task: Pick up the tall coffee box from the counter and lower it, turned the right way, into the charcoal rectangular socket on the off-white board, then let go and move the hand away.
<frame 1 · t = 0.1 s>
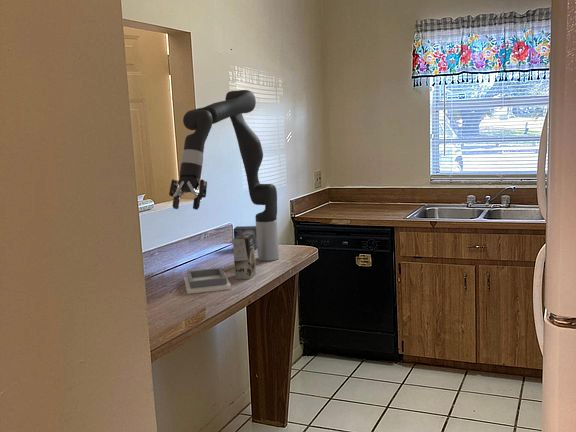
hand: (185, 208, 211), 31 cm above the counter, tool tilted 20°, fingers open, 8 cm apart
small box: (246, 249, 289), on the counter
socket stand: (207, 284, 229), on the counter
coffee box: (245, 276, 238), on the counter
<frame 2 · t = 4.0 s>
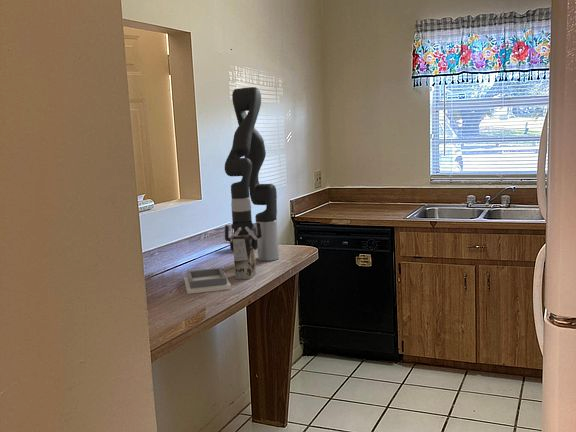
hand: (244, 249, 236), 11 cm above the counter, tool pointing down, fingers open, 8 cm apart
coffee box: (245, 276, 238), on the counter, touching gripper
everything else where it was.
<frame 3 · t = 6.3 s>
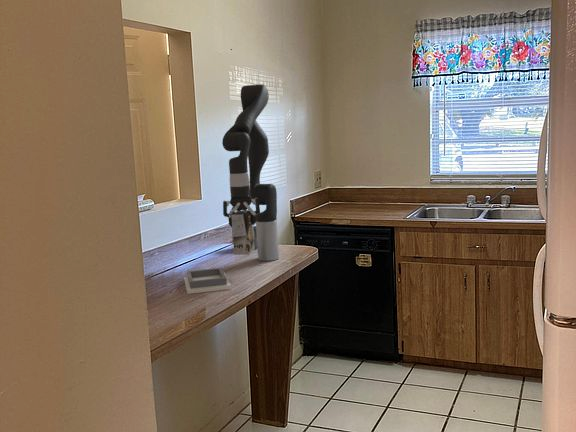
hand: (242, 225, 235), 20 cm above the counter, tool pointing down, fingers closed on coffee box, 8 cm apart
coffee box: (244, 252, 237), point 9 cm above the counter, touching gripper
everything else where it was.
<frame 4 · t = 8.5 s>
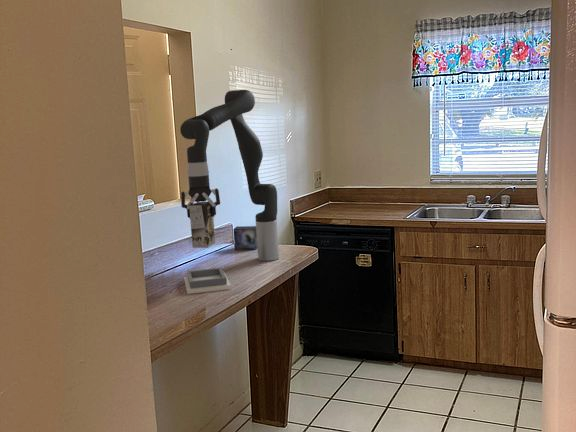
hand: (201, 217, 224), 26 cm above the counter, tool pointing down, fingers closed on coffee box, 8 cm apart
coffee box: (204, 245, 226), point 15 cm above the counter, touching gripper
everything else where it was.
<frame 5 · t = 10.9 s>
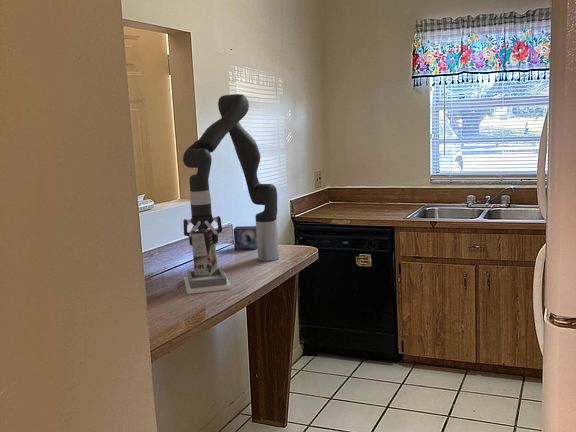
hand: (204, 245, 226), 15 cm above the counter, tool pointing down, fingers closed on coffee box, 8 cm apart
coffee box: (206, 273, 228), point 5 cm above the counter, touching gripper
everything else where it was.
when the fingers open (13 cm above the counter, at t = 12.7 s): coffee box drops 1 cm, resting on socket stand.
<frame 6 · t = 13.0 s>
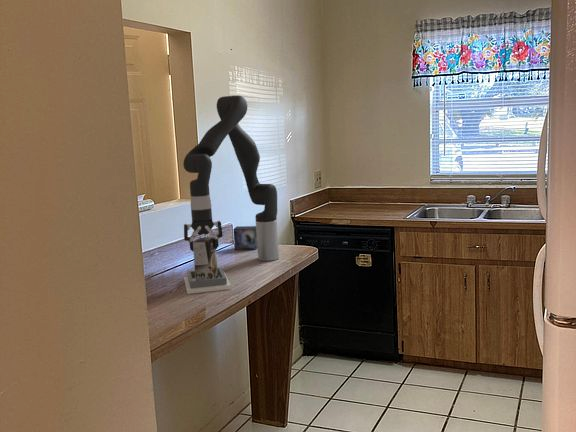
hand: (204, 249, 226), 14 cm above the counter, tool pointing down, fingers open, 8 cm apart
coffee box: (207, 281, 228), point 1 cm above the counter, touching gripper, socket stand
everything else where it was.
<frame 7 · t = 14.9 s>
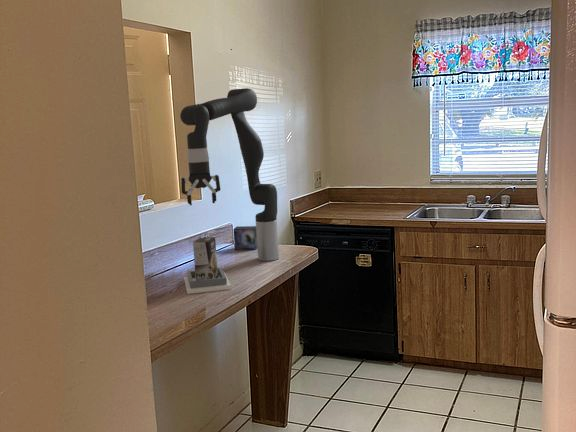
hand: (202, 204, 224), 31 cm above the counter, tool pointing down, fingers open, 8 cm apart
coffee box: (207, 281, 228), point 1 cm above the counter, touching socket stand
everything else where it was.
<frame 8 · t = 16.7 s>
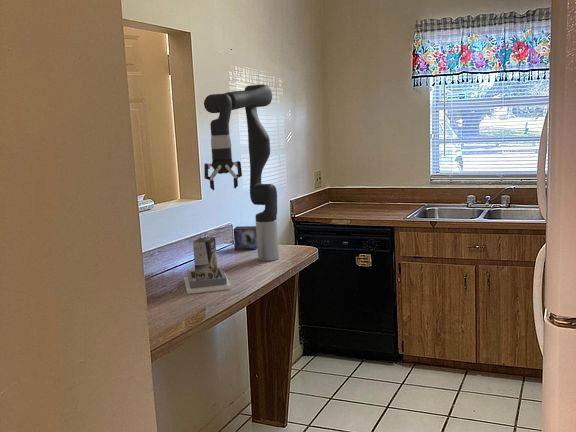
hand: (224, 189, 232), 35 cm above the counter, tool pointing down, fingers open, 8 cm apart
nothing on the counter moved.
at the end: coffee box 0.3 cm off-centre on the socket stand, point 1.3 cm above the socket stand's base; coffee box tilted 0°; the gripper is holding nothing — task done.
